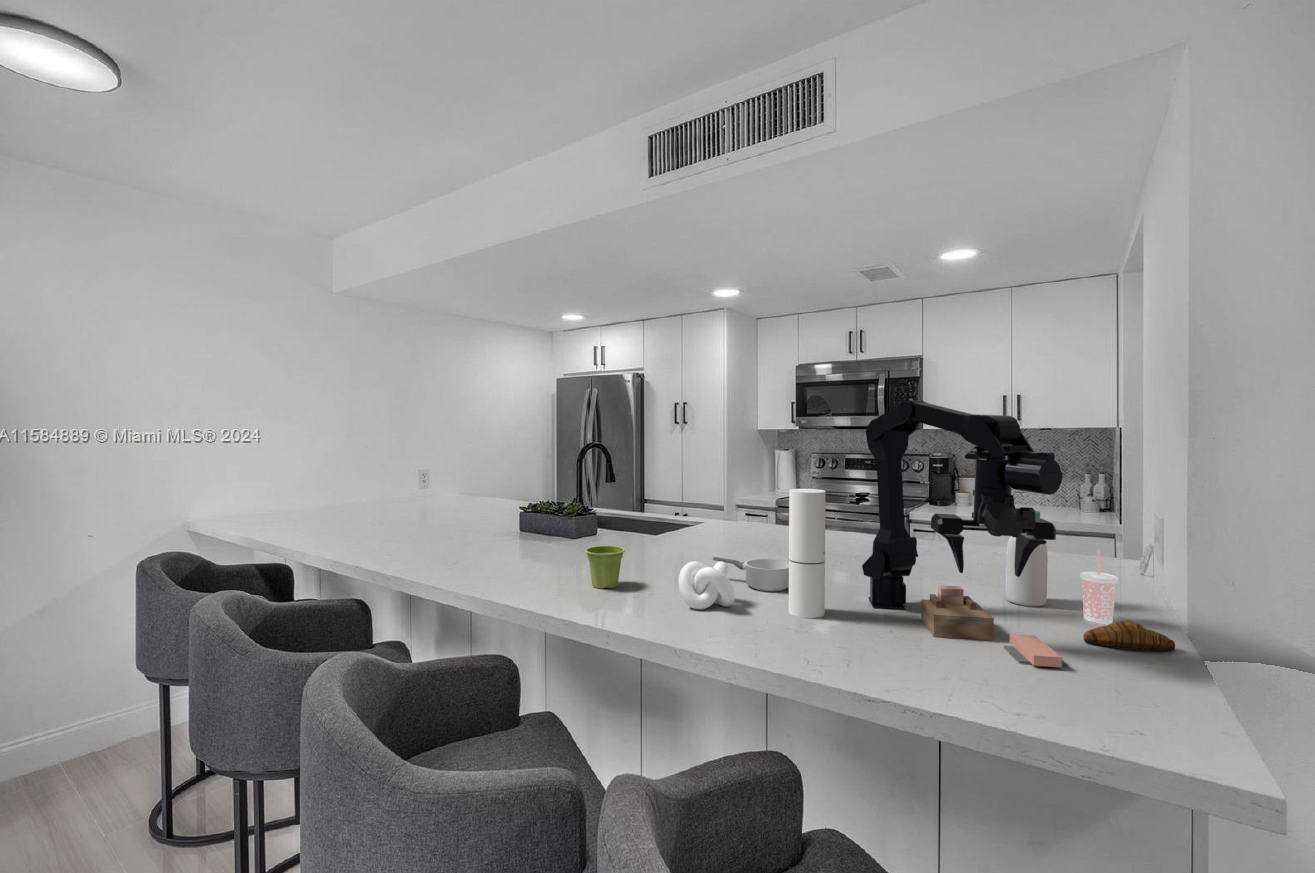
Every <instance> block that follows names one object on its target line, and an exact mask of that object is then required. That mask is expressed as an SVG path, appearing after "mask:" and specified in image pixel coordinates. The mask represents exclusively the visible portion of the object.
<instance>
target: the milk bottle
mask: <svg viewBox="0 0 1315 873" xmlns="http://www.w3.org/2000/svg"><path fill="white" fill-rule="evenodd" d="M1034 510H1035V518H1041V512H1040V511H1039V510H1036V509H1034ZM1008 538H1009V539H1008V541H1007V544H1006V554H1005V588H1004V590H1005V597H1004V598H1005V599H1006V601H1007V602H1010V603H1012V604H1016V605H1018V606H1026V607H1044V606H1045V605H1046V604H1047V602H1048V601H1047V599H1048V598H1047V597H1048V558H1049V557H1048V546H1047V543H1046V544H1040V545H1039V546H1038V547H1036V548H1035V549H1034V550H1033V552H1032V553H1031V555H1030V557H1029V559H1028V561H1027V563H1026V565H1025V567H1024V569H1023V571H1022V573H1021V575H1020V577H1017V576H1016V575H1015V567H1014V565H1015V547H1016V537H1012V536H1009V537H1008ZM1043 540H1044V539H1043Z"/></svg>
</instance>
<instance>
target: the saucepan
mask: <svg viewBox="0 0 1315 873" xmlns="http://www.w3.org/2000/svg"><path fill="white" fill-rule="evenodd" d="M712 560H713V561H716V562H720V561H723V562H725V563H726V564H732V565H734V566H735V567H736V568H737V569H739V570H743V571H745V583H746V585H747V586H750V587H751V588H752V589H754V590H758V591H761V592H762V591H763V592H780V591H782V592H783V591H785V590H786V589H789V560H788V561H787V560H785V559H777V558H753V559H748V560H745V561H743V562H741V561H739V560H735V559H731V558H723V557H719V556H713V557H712Z"/></svg>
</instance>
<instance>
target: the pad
mask: <svg viewBox="0 0 1315 873" xmlns="http://www.w3.org/2000/svg"><path fill="white" fill-rule="evenodd" d="M1004 648H1005V649H1006V650H1007V651H1009V653H1008V654H1009V655H1011V657H1013V659H1014V660H1015V661H1017V663H1019V664H1020V663H1024V665H1033V664H1032V663H1030V662H1029V661H1028V660H1027V659H1026V658H1025V657H1024V656H1023V655H1022V654H1021V653H1020V652H1019V651H1018V650H1016V649H1015V648H1014V647H1013V646H1012V645H1003V649H1004ZM1005 649H1004V650H1005ZM1006 650H1005V651H1006ZM1007 651H1006V652H1007ZM1025 663H1026V664H1025ZM1068 665H1069V664H1068V663H1067V662H1065V661H1064V660H1063V659H1062V667H1063V666H1068Z"/></svg>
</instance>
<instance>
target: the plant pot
mask: <svg viewBox="0 0 1315 873" xmlns="http://www.w3.org/2000/svg"><path fill="white" fill-rule="evenodd" d="M625 551H626V550H625V548H624V547H622V546H617V545H594V546H590V547H587V548H586V549H585V553H586V556H587V559H588V562H589V571H590V578H591V585H592V587H594V588H596V589H602V590H603V589H605V588H608V589H614V588H616V587H617V586H618V585H619V579H620V571H621V563H622V559H623V556H624V553H625Z"/></svg>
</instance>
